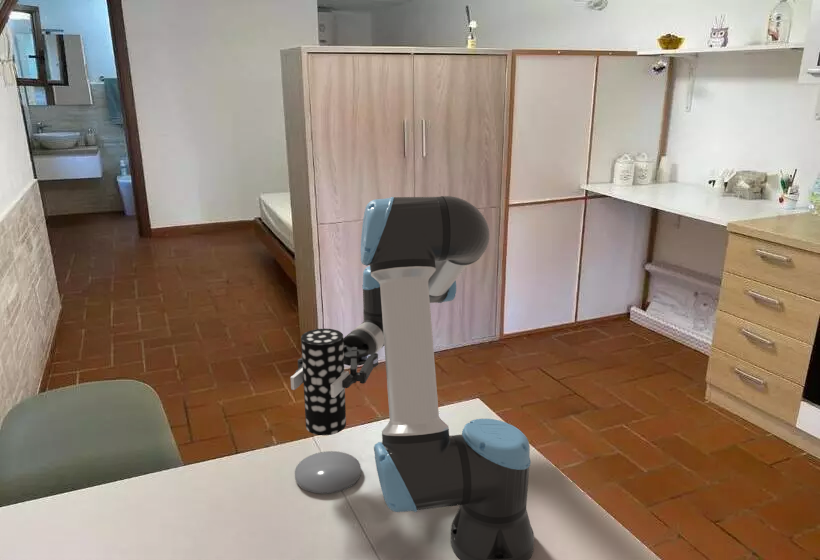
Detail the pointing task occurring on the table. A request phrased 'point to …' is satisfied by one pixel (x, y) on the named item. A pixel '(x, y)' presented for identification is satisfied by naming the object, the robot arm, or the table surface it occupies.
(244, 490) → the table surface
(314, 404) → the white-spotted black cylinder
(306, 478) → the dish
